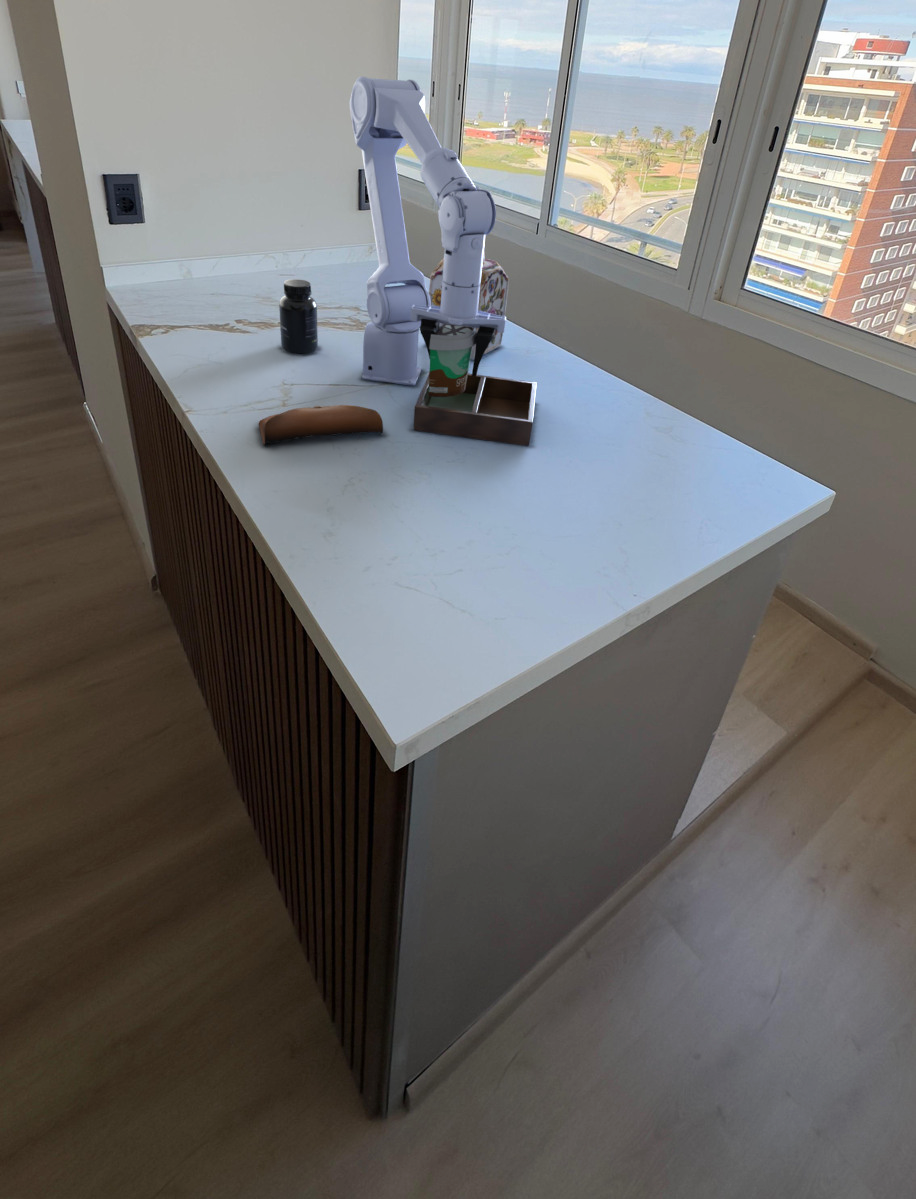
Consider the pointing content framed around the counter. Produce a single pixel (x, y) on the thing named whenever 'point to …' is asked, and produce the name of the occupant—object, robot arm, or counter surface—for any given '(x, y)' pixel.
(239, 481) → the counter surface
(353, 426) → the sunglasses case
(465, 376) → the food container
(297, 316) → the supplement bottle
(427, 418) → the organiser tray
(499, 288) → the decorative jar
